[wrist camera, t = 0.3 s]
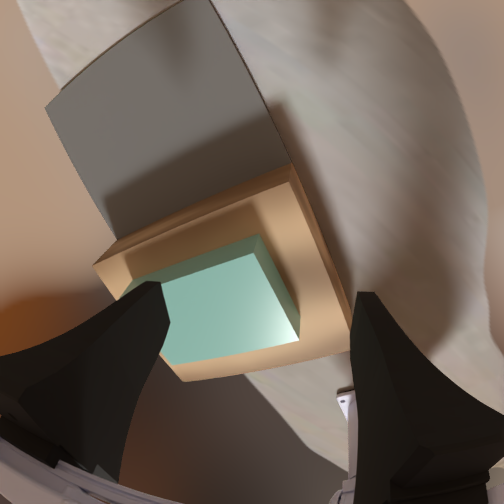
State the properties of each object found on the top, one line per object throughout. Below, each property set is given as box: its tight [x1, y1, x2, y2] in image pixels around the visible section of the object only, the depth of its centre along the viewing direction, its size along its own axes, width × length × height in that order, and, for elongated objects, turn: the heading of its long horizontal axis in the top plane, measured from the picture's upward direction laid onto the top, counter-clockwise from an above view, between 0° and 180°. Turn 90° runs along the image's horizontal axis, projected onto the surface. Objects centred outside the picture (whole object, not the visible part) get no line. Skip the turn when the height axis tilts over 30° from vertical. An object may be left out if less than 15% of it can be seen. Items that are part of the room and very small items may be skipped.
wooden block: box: [93, 162, 352, 382], centre depth 21 cm, size 12×14×4 cm
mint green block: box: [119, 234, 301, 365], centre depth 19 cm, size 6×9×2 cm, turn 116°
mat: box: [45, 0, 292, 240], centre depth 18 cm, size 12×14×1 cm
